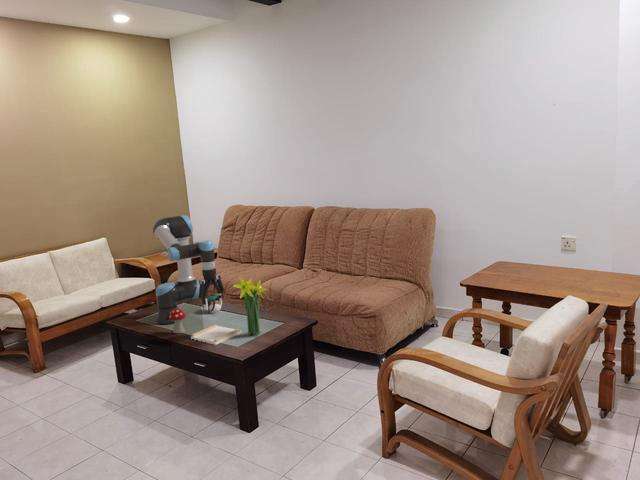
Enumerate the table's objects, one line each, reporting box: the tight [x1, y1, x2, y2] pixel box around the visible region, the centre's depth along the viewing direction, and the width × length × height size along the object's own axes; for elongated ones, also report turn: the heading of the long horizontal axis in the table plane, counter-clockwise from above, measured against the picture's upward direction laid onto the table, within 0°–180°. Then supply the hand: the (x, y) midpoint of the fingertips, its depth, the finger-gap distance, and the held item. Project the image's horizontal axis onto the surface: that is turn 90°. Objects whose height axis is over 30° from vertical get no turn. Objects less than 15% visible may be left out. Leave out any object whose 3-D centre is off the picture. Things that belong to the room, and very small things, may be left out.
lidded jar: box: [206, 300, 222, 314], centre depth 335 cm, size 11×11×9 cm
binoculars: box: [202, 293, 224, 313], centre depth 286 cm, size 9×11×10 cm
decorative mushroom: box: [169, 308, 187, 334], centre depth 297 cm, size 10×9×15 cm
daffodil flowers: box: [232, 276, 268, 336], centre depth 285 cm, size 17×15×35 cm
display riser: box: [190, 324, 242, 346], centre depth 289 cm, size 20×20×3 cm
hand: (213, 307), depth 286 cm, fingers closed on binoculars, 10 cm apart
